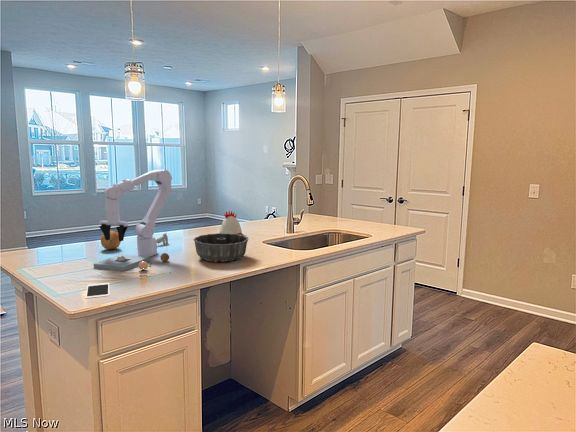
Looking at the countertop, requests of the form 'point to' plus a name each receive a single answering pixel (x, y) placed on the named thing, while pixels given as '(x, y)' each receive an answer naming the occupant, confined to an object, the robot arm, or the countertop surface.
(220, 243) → the bundt pan
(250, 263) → the countertop surface
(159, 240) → the caliper
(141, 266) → the terracotta ball
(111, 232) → the onion
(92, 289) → the cell phone
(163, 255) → the walnut ball
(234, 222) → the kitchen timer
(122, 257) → the steel ball
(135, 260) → the hole plate
